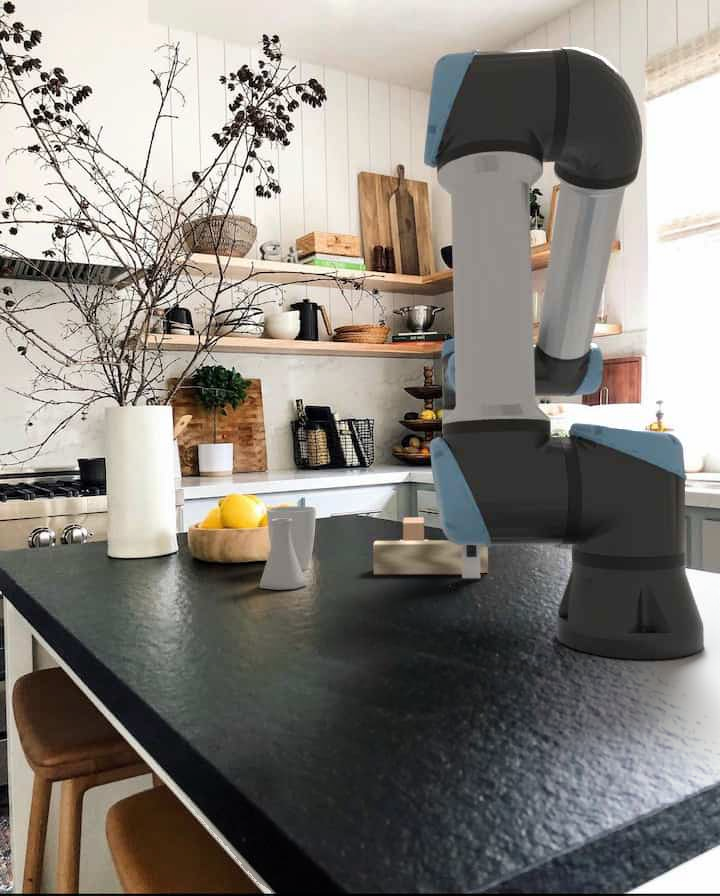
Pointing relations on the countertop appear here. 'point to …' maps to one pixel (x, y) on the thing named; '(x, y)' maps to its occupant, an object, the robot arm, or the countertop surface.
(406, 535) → the block
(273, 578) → the flask
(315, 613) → the countertop surface
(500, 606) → the countertop surface
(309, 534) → the cup
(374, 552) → the bar
